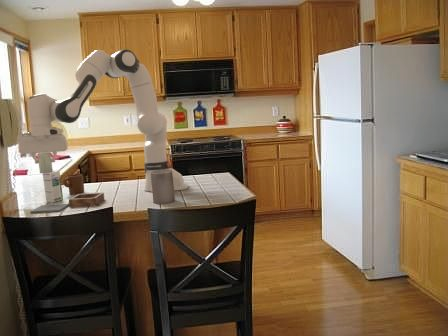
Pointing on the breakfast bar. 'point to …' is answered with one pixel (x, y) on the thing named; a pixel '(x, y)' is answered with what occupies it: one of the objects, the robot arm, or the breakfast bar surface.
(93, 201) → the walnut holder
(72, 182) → the mug
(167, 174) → the pillar candle
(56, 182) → the syrup box
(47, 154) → the jug
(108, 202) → the breakfast bar surface
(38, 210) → the charcoal mat
